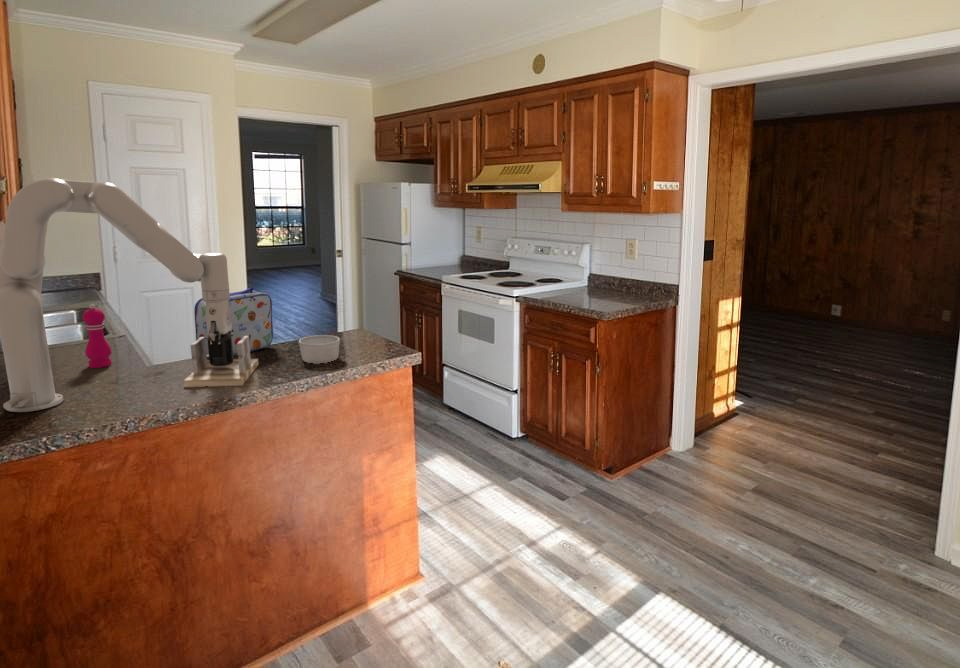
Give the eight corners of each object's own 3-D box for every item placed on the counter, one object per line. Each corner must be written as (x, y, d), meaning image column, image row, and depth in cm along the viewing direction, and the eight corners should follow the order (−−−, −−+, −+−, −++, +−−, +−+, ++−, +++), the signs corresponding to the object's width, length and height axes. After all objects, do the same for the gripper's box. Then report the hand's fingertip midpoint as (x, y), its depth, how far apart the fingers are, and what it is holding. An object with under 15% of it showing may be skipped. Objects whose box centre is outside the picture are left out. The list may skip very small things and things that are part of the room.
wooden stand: (242, 385, 184) (239, 348, 182) (184, 387, 182) (180, 350, 180) (258, 364, 206) (256, 331, 203) (206, 366, 204) (203, 332, 201)
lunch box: (260, 342, 235) (256, 283, 230) (280, 346, 230) (276, 285, 225) (194, 359, 212) (187, 293, 207) (214, 363, 207) (208, 296, 202)
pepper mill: (89, 369, 199) (80, 306, 195) (85, 365, 205) (76, 303, 200) (115, 365, 204) (107, 304, 199) (110, 361, 209) (102, 301, 205)
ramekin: (343, 363, 208) (342, 342, 207) (302, 367, 203) (300, 345, 202) (337, 353, 220) (336, 333, 219) (297, 357, 215) (296, 336, 214)
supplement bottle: (238, 362, 194) (235, 324, 192) (219, 367, 188) (216, 328, 186) (223, 359, 198) (220, 321, 195) (204, 364, 192) (201, 325, 189)
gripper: (221, 300, 180) (226, 361, 184) (236, 290, 197) (240, 346, 201) (193, 300, 180) (199, 361, 183) (211, 290, 196) (216, 347, 200)
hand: (221, 353), depth 192 cm, fingers closed on supplement bottle, 6 cm apart
